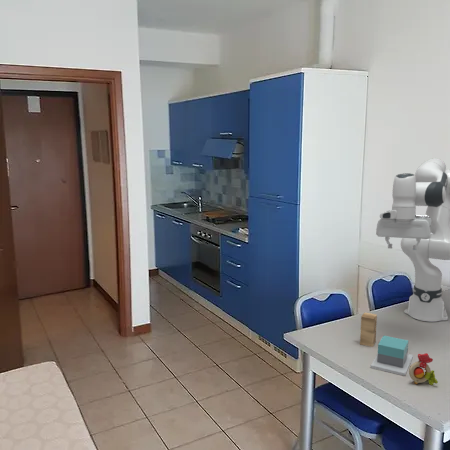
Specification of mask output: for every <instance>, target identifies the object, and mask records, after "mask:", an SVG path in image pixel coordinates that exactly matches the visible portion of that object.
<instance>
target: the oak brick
mask: <svg viewBox="0 0 450 450" xmlns="http://www.w3.org/2000/svg"><path fill="white" fill-rule="evenodd" d="M377 322H378V315H377V314H376V313H371V312H364V313H362V315H361V316H360V339H359V345H362V346H366V347H371V348H373V347H374V345H375V344H376V343H377V341H376V339H377V324H378V323H377Z"/></svg>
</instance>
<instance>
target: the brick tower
mask: <svg viewBox="0 0 450 450" xmlns="http://www.w3.org/2000/svg"><path fill="white" fill-rule="evenodd" d="M413 359H414V354H410V353H409V340H408V339H403V338H399V337H398V338H397V337H392V336H388V335H383V336H382V337H381V339H380V340H379V342H378V344H377V354H376V355H375V357H374V359H373V361H372V362H371V364H370V369H374V370H378V371H383V372H387V373H392V374H396V375H400V376H403V377H405V376H406V375H407V373H408V371H409V368H410V366H411V363H412V360H413Z"/></svg>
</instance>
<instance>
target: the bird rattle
mask: <svg viewBox="0 0 450 450" xmlns="http://www.w3.org/2000/svg"><path fill="white" fill-rule="evenodd" d="M417 359H418V360H417V361H415V362H413V363H412V364H410V366H409V368H408V375H409V377H410V378H411V380H412V381H413V383H414V384H416V385H417V384H420V383H421V384H422V383H425V382H426V381H428V384H429V385H431V386H432V385H434V384H438V382H439V381H438V380H437V379H436V376H435V375H436V374H435V370H431V367H430V366H429V365H428V364H430V363H432V362H433V361H434V360H433V358H431V356H430V355H429V354H428V353H418V354H417Z"/></svg>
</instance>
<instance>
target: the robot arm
mask: <svg viewBox="0 0 450 450" xmlns="http://www.w3.org/2000/svg"><path fill="white" fill-rule="evenodd" d="M391 194H392V201H393V202H392V205H391V210H386V211H384V212H380V214H379V218H380V219H379V220H378V221H377V224H376V229H375V230H376V234H375V235H376V236H377V237H380V238H382V237H383V238H384V239H385V242H386V244H387V249H393V243H391V242H390V239H391V238H400V239H401V240H400V249H401V251H402V252H403V253H404V254H405V255H406V256H407V257H408V258H409V259H410V261H411V263H412V265H413V267H414V274H415V275H414V276H415V279H414V280H415V281H414V285H413V289H412V290H413V291H412V293H413V294H412V295H410V296H409V299H408V301H409V302H408V307H407V308H406V309H405V310H403V311H404V314H406V315H409V317H411V318H413V319H416V320H418V321H422V322H423V321H424V322H440V321H448V320H449V316H448V313H447V310H446V307H445V306H444V305H445V301H444V299H443V297H442V294H443V290H442V279H443V274H442V271H441V269H440V268H439V267H438V266H436V265H435V264H433V263H431V261H430V259H434V260H441V261H450V169H448V168H447V164H446V163H445V162H444V160H442V159H441V158H437V157H434V158H430V159H427V160H426V161H425V160H424V162H423V163H421V165H419V166H418V168H417V169H416V170H415V174H414V173H411V172H410V173H405V172H404V173H399V174H396V175H395V176H394V179H393V185H392V193H391ZM417 207H427V208H426V211H425V215H424V214H423V215H422V214H416V211H417Z"/></svg>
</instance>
